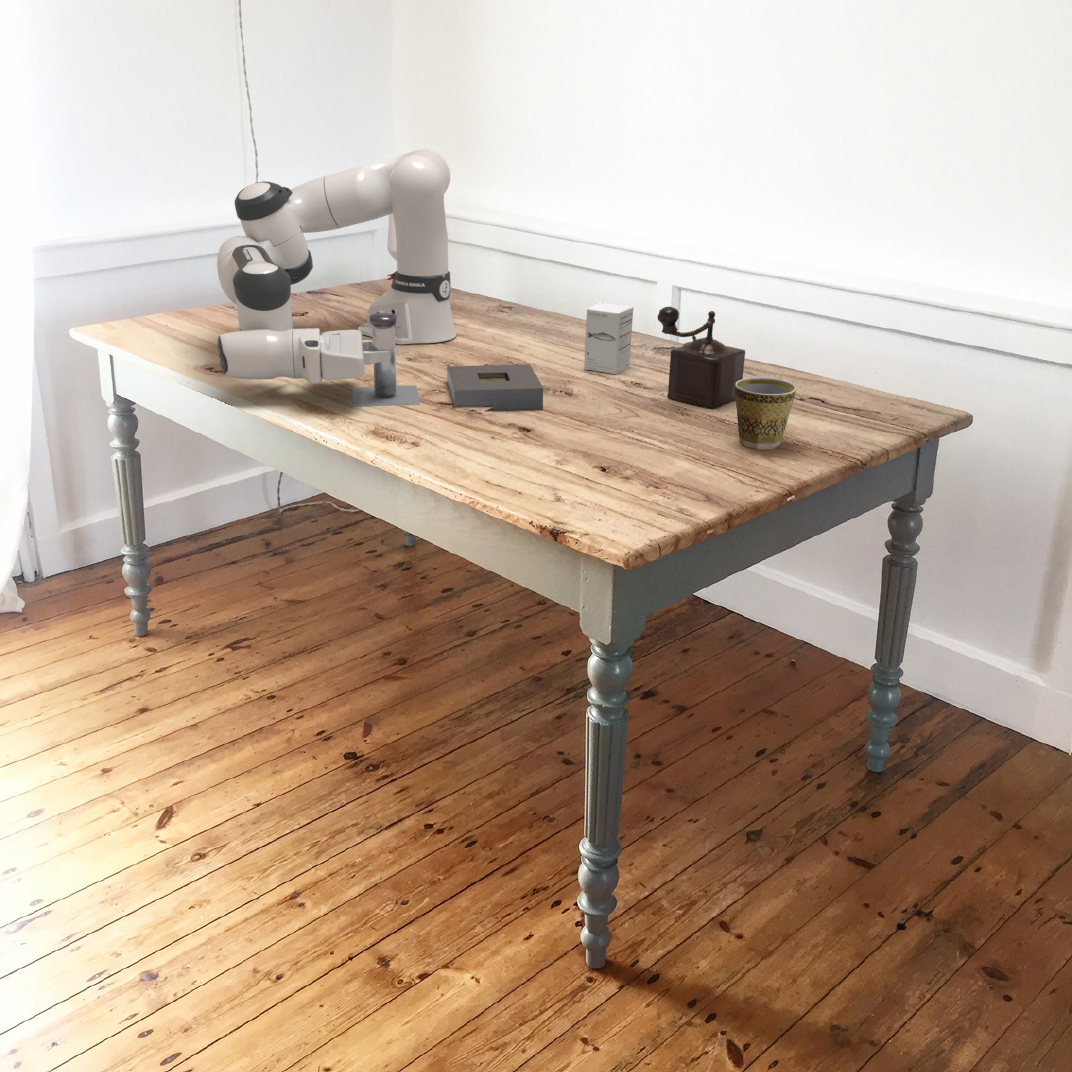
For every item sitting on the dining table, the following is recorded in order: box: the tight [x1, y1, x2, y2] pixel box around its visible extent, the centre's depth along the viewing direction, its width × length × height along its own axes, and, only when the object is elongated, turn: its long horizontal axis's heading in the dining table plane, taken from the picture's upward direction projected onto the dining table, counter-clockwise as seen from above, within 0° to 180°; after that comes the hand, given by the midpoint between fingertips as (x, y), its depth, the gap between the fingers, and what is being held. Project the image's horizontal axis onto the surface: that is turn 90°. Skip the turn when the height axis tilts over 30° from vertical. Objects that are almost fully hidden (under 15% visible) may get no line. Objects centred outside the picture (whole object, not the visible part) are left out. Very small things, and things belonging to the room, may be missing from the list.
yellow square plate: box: [479, 378, 506, 382], centre depth 213 cm, size 5×5×1 cm
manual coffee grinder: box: [657, 306, 746, 410], centre depth 211 cm, size 16×11×18 cm
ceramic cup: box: [735, 377, 797, 451], centre depth 192 cm, size 13×10×10 cm
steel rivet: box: [369, 313, 397, 395], centre depth 207 cm, size 5×5×14 cm
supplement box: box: [583, 302, 634, 376], centre depth 231 cm, size 7×7×13 cm
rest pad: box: [351, 385, 421, 408], centre depth 211 cm, size 12×12×1 cm
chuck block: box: [446, 363, 544, 412], centre depth 213 cm, size 16×16×4 cm
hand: (389, 351), depth 207 cm, fingers closed on steel rivet, 4 cm apart
